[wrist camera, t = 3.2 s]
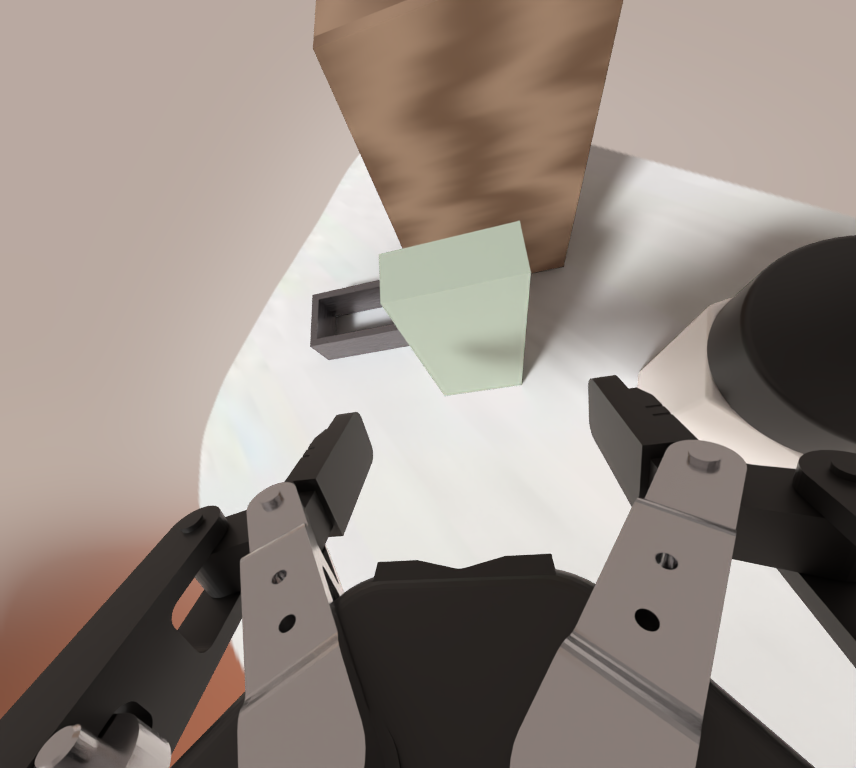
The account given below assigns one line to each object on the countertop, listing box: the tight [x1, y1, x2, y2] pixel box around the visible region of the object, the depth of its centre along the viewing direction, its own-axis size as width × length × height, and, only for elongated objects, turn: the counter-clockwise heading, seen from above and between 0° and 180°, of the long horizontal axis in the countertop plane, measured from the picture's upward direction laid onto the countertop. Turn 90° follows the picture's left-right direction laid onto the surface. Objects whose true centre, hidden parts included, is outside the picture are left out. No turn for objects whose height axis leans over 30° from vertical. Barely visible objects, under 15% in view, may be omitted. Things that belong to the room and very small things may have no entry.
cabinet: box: [313, 0, 623, 273], centre depth 22 cm, size 12×8×18 cm, turn 95°
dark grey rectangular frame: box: [310, 280, 410, 360], centre depth 29 cm, size 9×5×3 cm, turn 95°
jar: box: [637, 235, 856, 469], centre depth 16 cm, size 9×8×12 cm
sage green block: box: [379, 221, 531, 396], centre depth 20 cm, size 6×4×14 cm, turn 95°
